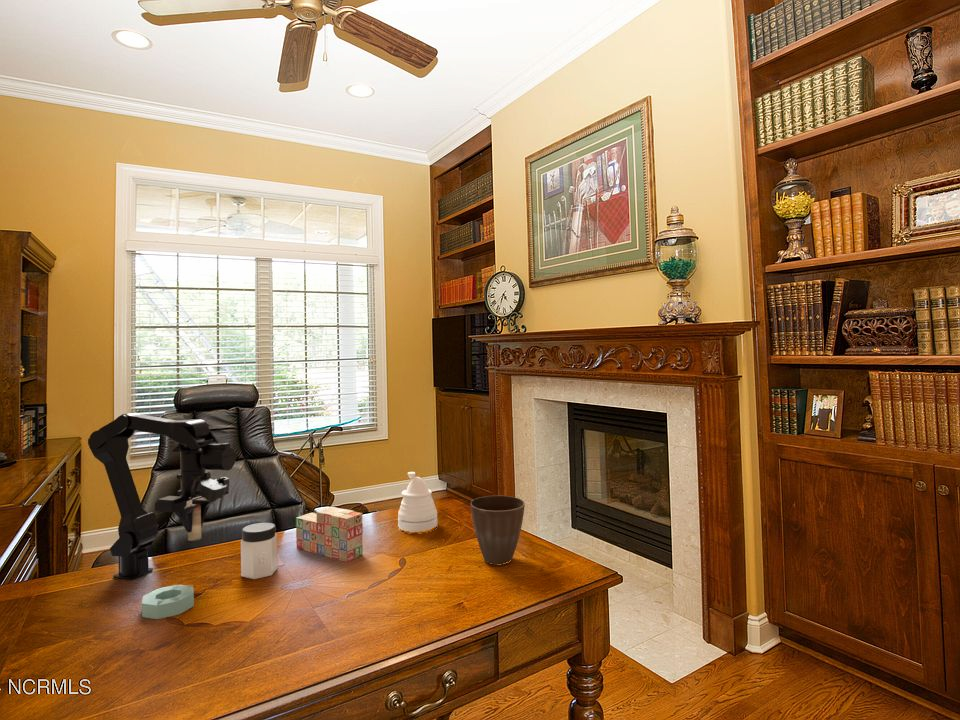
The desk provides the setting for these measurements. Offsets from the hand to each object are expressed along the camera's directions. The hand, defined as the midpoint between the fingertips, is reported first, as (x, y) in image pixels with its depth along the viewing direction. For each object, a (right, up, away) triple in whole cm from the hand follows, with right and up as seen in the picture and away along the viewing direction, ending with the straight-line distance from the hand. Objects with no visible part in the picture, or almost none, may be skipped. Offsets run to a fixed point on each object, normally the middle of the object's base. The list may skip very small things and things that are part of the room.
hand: (194, 529), depth 138 cm
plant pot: (+78, -12, +9) cm, 80 cm away
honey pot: (+53, -12, +39) cm, 67 cm away
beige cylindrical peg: (0, -2, 0) cm, 2 cm away
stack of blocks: (+30, -12, +18) cm, 37 cm away
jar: (+15, -12, +3) cm, 20 cm away
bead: (+3, -13, -16) cm, 21 cm away
